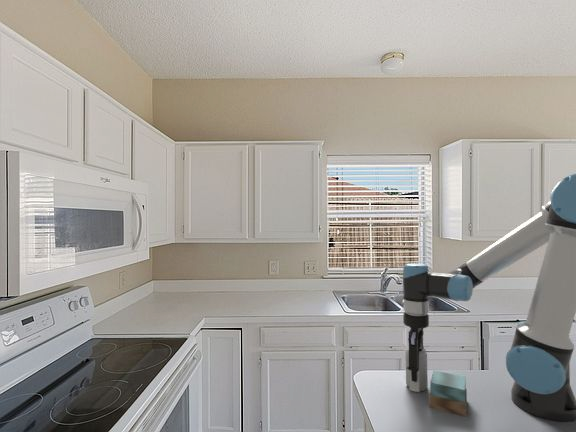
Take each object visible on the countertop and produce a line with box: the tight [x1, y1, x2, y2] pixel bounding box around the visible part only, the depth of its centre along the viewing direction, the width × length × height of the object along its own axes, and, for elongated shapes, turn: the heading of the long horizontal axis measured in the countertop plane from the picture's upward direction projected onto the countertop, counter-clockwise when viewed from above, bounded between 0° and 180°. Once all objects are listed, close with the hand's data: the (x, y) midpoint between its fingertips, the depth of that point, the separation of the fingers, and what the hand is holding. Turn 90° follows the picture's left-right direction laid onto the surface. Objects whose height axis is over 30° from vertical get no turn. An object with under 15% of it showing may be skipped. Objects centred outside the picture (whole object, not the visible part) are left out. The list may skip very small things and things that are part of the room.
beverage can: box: [405, 345, 428, 392], centre depth 105 cm, size 6×6×12 cm
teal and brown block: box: [429, 369, 468, 418], centre depth 95 cm, size 9×9×7 cm
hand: (416, 385), depth 105 cm, fingers closed on beverage can, 6 cm apart
